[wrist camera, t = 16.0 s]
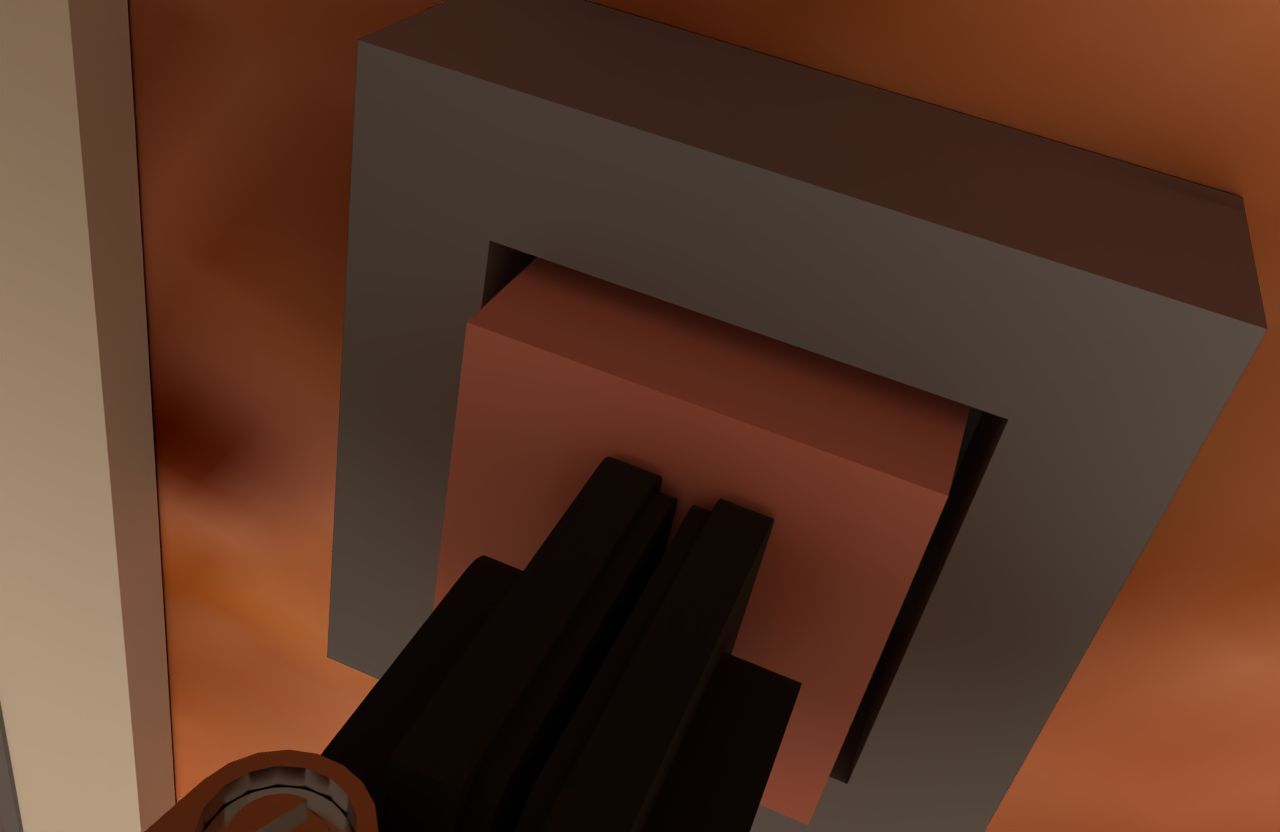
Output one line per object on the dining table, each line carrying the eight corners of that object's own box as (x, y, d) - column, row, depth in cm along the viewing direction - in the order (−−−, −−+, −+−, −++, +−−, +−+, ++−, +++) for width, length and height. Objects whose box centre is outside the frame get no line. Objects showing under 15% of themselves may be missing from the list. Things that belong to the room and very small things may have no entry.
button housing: (502, -24, 13) (357, 40, 11) (1243, 197, 12) (1267, 329, 9) (439, 525, 18) (326, 656, 15) (966, 734, 16) (935, 917, 14)
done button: (593, 205, 13) (466, 322, 11) (986, 337, 12) (947, 495, 10) (538, 512, 16) (427, 664, 13) (863, 639, 15) (808, 825, 12)
